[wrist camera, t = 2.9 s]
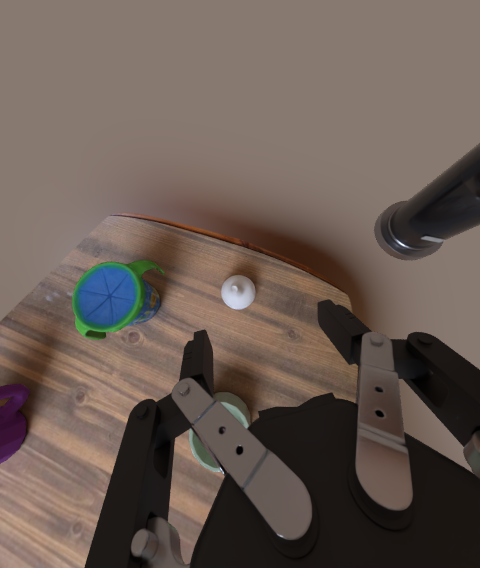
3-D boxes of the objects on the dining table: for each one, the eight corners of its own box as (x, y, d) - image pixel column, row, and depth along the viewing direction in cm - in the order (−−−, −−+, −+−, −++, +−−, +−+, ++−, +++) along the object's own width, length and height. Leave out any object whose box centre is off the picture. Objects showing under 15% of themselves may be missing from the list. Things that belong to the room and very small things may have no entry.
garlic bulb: (257, 279, 39) (257, 267, 31) (253, 311, 37) (253, 308, 29) (224, 276, 39) (217, 263, 31) (220, 307, 38) (212, 303, 30)
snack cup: (157, 258, 41) (126, 236, 31) (189, 295, 39) (168, 284, 29) (96, 310, 39) (43, 305, 29) (127, 351, 37) (81, 361, 27)
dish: (238, 382, 35) (235, 392, 30) (259, 436, 33) (260, 456, 28) (190, 404, 35) (180, 416, 30) (209, 459, 33) (202, 483, 28)
